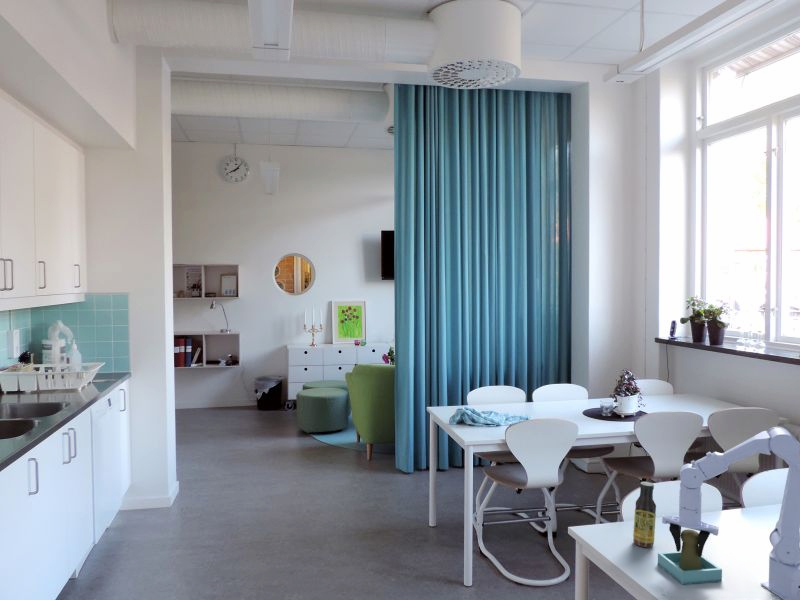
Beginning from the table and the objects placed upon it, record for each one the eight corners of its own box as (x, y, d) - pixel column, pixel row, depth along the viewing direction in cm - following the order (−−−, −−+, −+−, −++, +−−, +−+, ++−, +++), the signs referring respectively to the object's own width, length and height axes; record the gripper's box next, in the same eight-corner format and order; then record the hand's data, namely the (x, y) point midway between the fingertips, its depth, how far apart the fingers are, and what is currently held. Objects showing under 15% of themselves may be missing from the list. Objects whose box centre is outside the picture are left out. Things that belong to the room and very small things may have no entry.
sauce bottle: (632, 546, 189) (633, 484, 189) (634, 538, 195) (635, 478, 194) (654, 550, 186) (655, 488, 186) (656, 542, 192) (657, 482, 191)
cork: (705, 574, 170) (705, 536, 169) (682, 572, 171) (682, 535, 170) (698, 563, 176) (698, 527, 175) (676, 562, 177) (676, 526, 176)
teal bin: (721, 581, 167) (722, 569, 167) (682, 584, 165) (683, 572, 165) (694, 561, 179) (694, 550, 179) (657, 564, 177) (657, 552, 177)
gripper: (720, 508, 171) (719, 554, 171) (666, 497, 179) (665, 541, 180) (716, 516, 165) (715, 564, 165) (660, 504, 173) (660, 550, 174)
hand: (689, 553), depth 172 cm, fingers open, 5 cm apart
